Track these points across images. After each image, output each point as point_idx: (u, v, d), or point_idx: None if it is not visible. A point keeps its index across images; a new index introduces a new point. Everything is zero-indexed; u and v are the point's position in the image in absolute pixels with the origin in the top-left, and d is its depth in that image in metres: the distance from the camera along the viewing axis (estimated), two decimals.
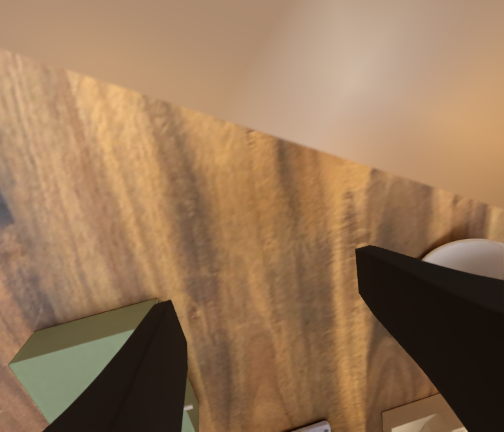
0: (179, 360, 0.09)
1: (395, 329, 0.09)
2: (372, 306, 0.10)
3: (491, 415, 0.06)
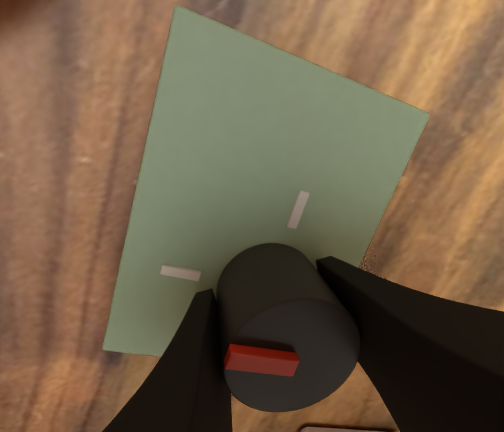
0: None
1: None
2: None
3: None
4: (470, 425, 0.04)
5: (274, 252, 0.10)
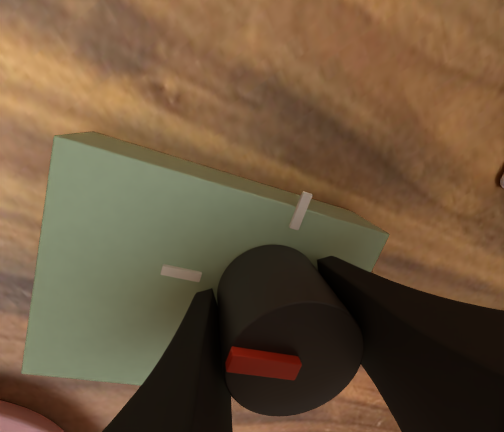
0: None
1: None
2: None
3: None
4: (472, 424, 0.04)
5: (276, 253, 0.09)
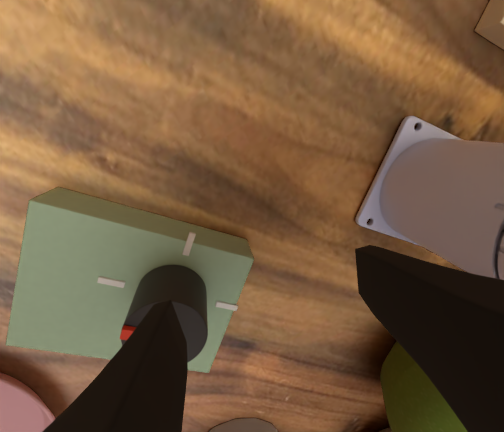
0: (179, 360, 0.09)
1: (395, 329, 0.09)
2: (372, 306, 0.10)
3: (491, 415, 0.06)
4: None
5: (170, 271, 0.15)
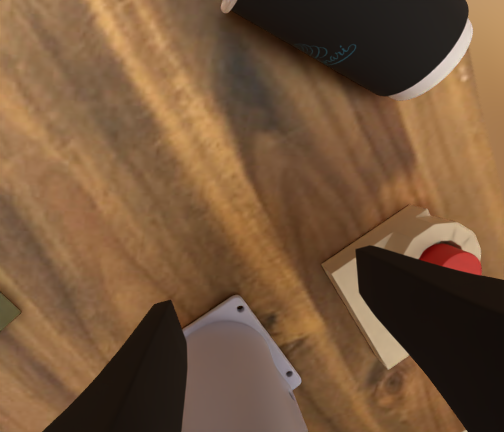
0: (179, 360, 0.09)
1: (395, 329, 0.09)
2: (372, 306, 0.10)
3: (491, 415, 0.06)
4: None
5: None
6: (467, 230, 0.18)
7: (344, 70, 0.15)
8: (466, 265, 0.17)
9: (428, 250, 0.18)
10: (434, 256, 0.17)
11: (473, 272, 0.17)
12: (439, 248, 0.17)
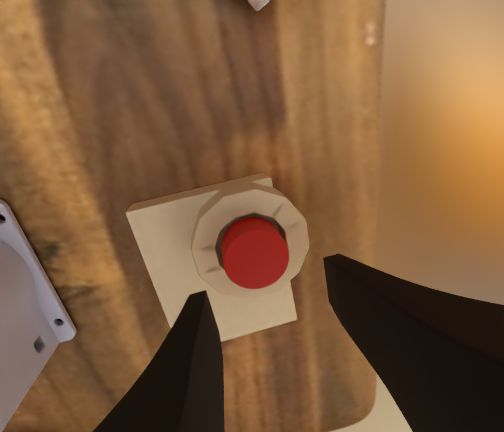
0: (217, 349, 0.09)
1: (359, 340, 0.09)
2: (340, 315, 0.10)
3: None
4: (486, 419, 0.05)
5: None
6: (297, 213, 0.14)
7: None
8: (269, 248, 0.13)
9: (242, 220, 0.14)
10: (239, 227, 0.13)
11: (277, 260, 0.13)
12: (253, 221, 0.14)
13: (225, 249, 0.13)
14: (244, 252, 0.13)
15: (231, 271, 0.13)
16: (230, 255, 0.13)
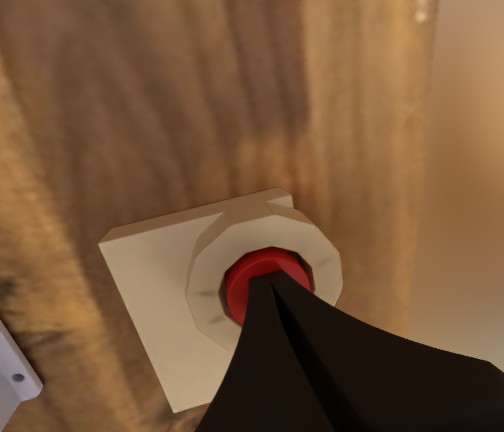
0: None
1: None
2: None
3: None
4: None
5: None
6: (329, 245, 0.11)
7: None
8: None
9: None
10: (248, 253, 0.11)
11: None
12: None
13: (230, 283, 0.10)
14: None
15: (237, 310, 0.10)
16: (236, 291, 0.10)
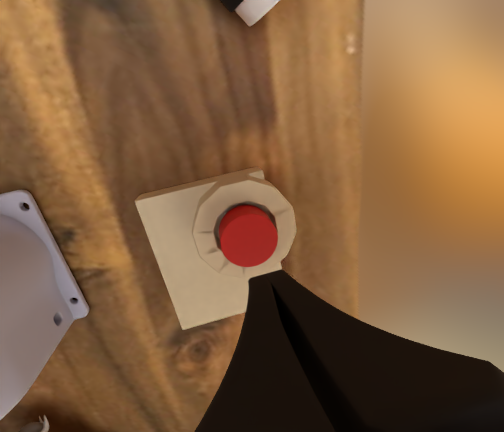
0: None
1: None
2: None
3: None
4: None
5: None
6: (285, 201, 0.16)
7: None
8: (260, 231, 0.15)
9: (237, 207, 0.16)
10: (234, 212, 0.15)
11: (267, 241, 0.15)
12: (246, 207, 0.16)
13: (222, 231, 0.15)
14: (238, 234, 0.15)
15: (227, 251, 0.15)
16: (226, 236, 0.15)
